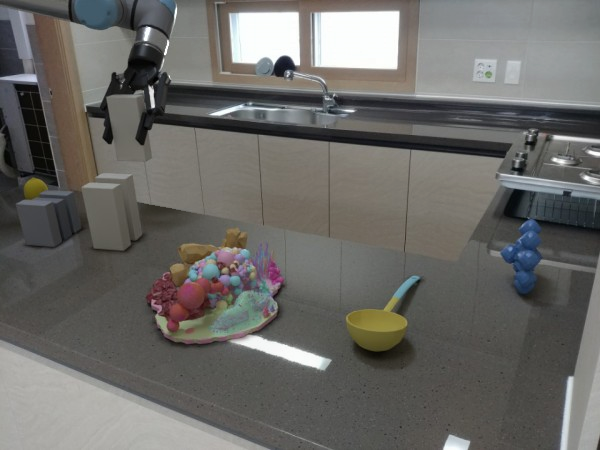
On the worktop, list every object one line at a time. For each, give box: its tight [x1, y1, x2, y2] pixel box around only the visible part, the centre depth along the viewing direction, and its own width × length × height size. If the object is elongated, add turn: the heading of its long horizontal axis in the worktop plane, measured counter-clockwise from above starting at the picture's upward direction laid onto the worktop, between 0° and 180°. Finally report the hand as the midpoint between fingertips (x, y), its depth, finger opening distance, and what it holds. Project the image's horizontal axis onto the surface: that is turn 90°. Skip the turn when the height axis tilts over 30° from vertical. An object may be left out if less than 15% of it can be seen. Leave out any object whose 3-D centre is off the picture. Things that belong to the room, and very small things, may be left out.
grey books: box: [15, 189, 82, 248], centre depth 117 cm, size 10×7×9 cm
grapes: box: [499, 218, 544, 295], centre depth 91 cm, size 12×7×12 cm, turn 160°
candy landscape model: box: [145, 227, 285, 345], centre depth 90 cm, size 25×24×9 cm
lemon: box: [23, 177, 49, 200], centre depth 133 cm, size 6×6×8 cm
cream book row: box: [81, 172, 143, 252], centre depth 112 cm, size 8×7×14 cm
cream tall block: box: [106, 94, 153, 163], centre depth 117 cm, size 3×7×14 cm, turn 77°
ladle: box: [345, 275, 421, 352], centre depth 85 cm, size 9×26×6 cm, turn 153°
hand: (123, 141), depth 114 cm, fingers closed on cream tall block, 7 cm apart
